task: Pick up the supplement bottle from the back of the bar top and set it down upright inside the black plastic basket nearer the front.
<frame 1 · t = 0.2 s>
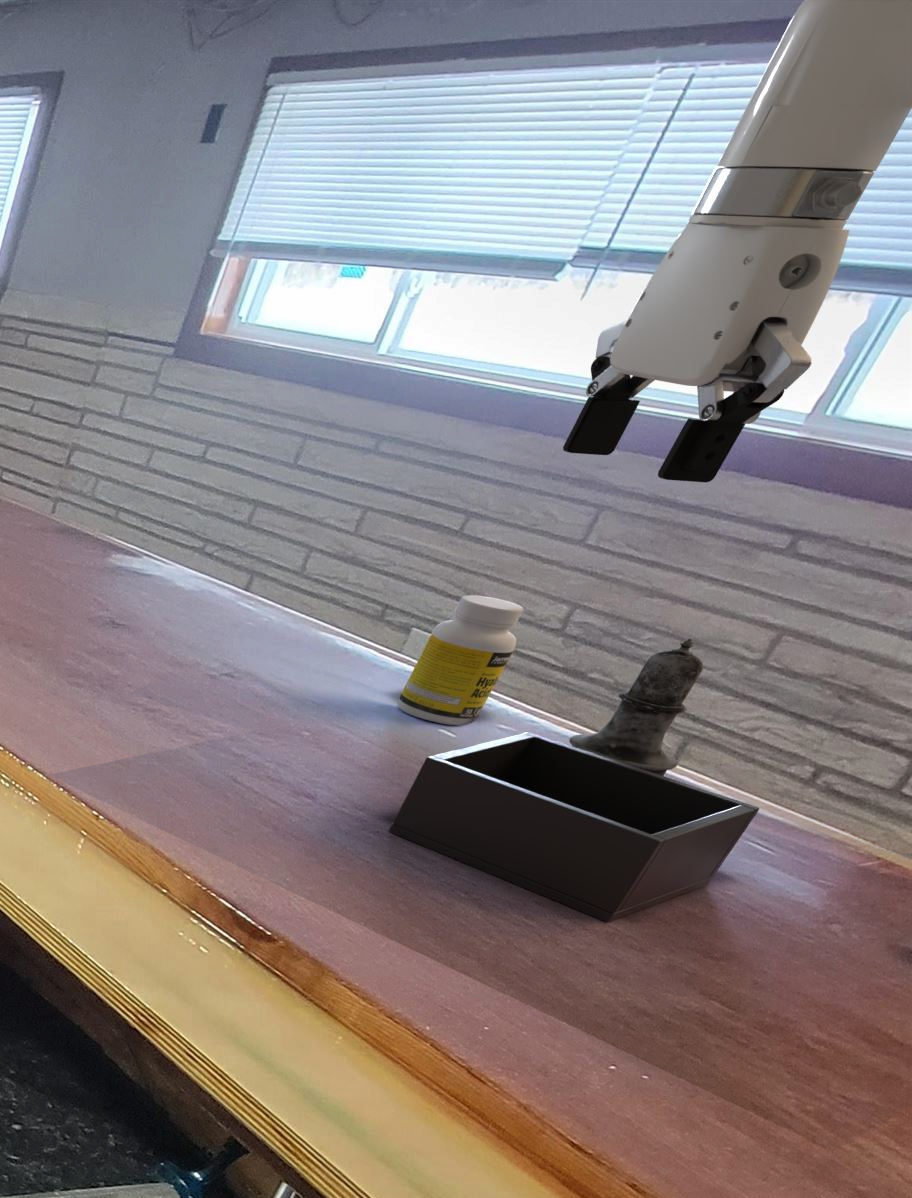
hand: (632, 466, 89), 21 cm above the counter, tool pointing down, fingers open, 9 cm apart
supplement bottle: (433, 716, 103), on the counter
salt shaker: (594, 797, 89), on the counter
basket: (542, 857, 80), on the counter
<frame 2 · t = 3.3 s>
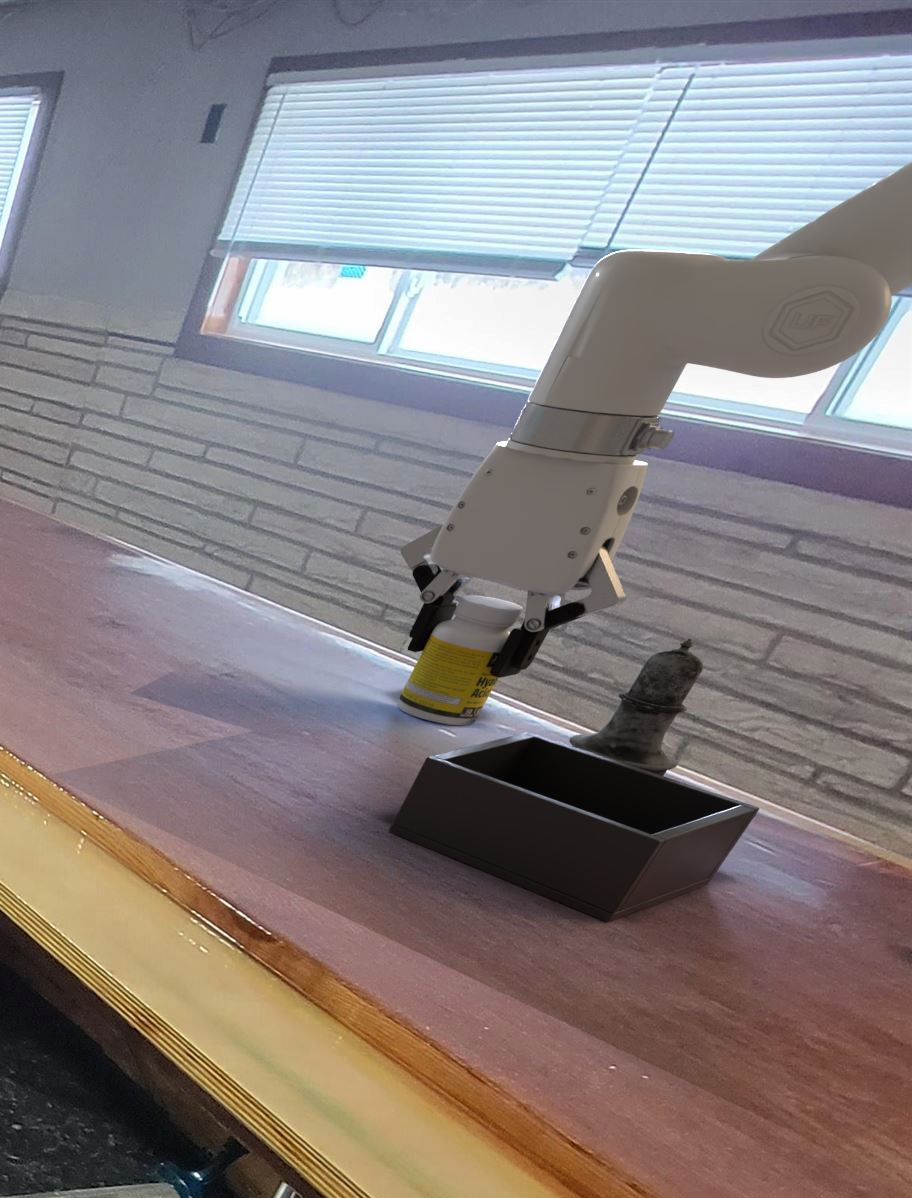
hand: (462, 659, 100), 5 cm above the counter, tool pointing down, fingers closed on supplement bottle, 5 cm apart
supplement bottle: (433, 716, 103), on the counter, touching gripper
everything else where it was.
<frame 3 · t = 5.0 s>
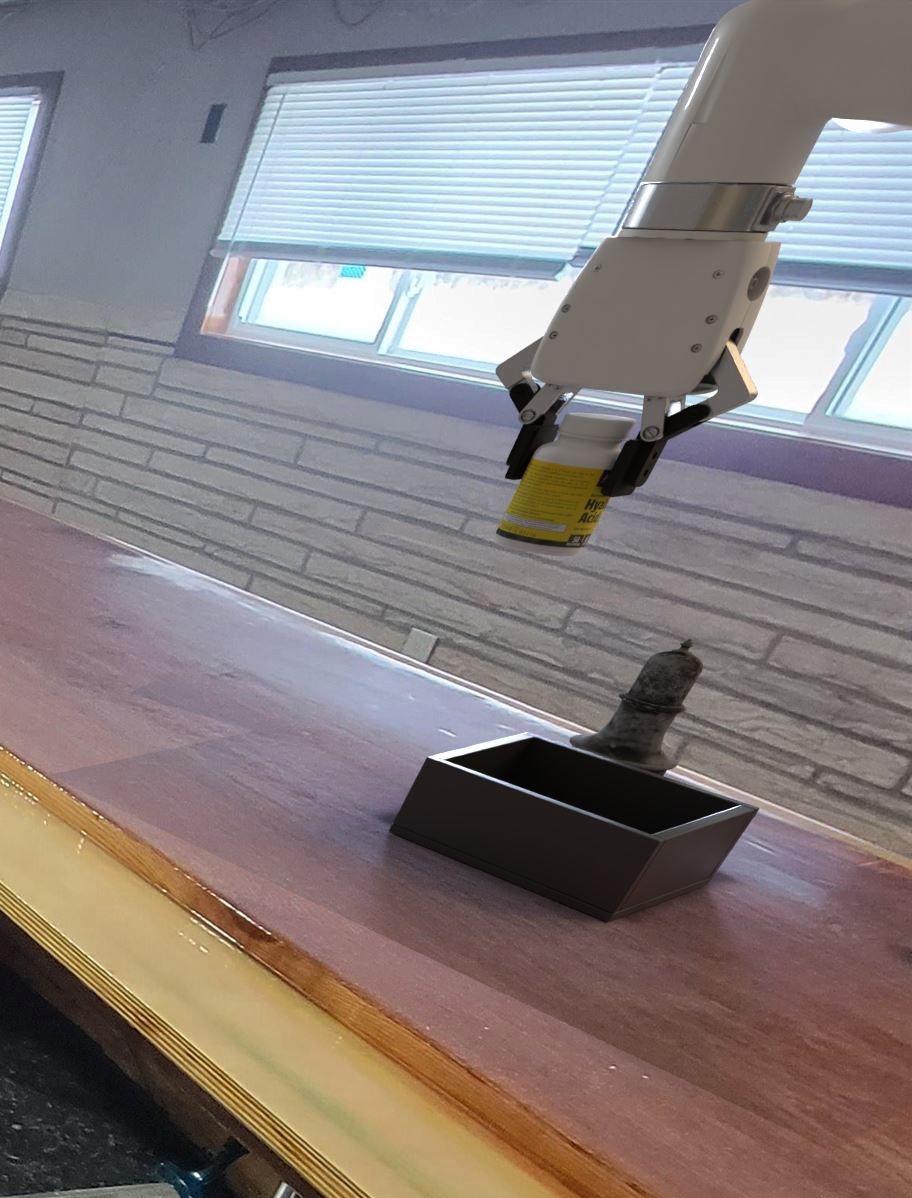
hand: (567, 484, 92), 19 cm above the counter, tool pointing down, fingers closed on supplement bottle, 5 cm apart
supplement bottle: (534, 551, 94), point 14 cm above the counter, touching gripper
everything else where it was.
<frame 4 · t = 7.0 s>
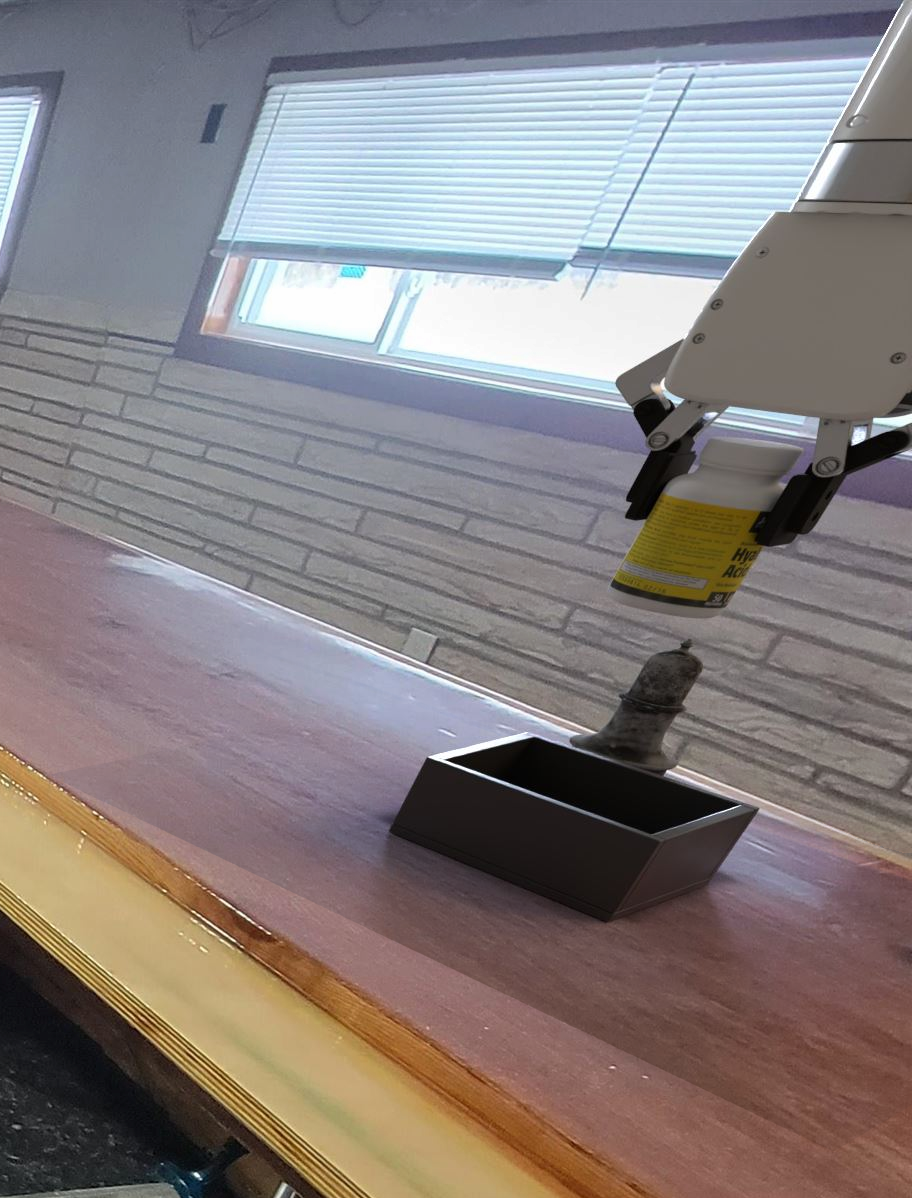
hand: (707, 527, 73), 21 cm above the counter, tool pointing down, fingers closed on supplement bottle, 5 cm apart
supplement bottle: (658, 610, 75), point 16 cm above the counter, touching gripper
everything else where it was.
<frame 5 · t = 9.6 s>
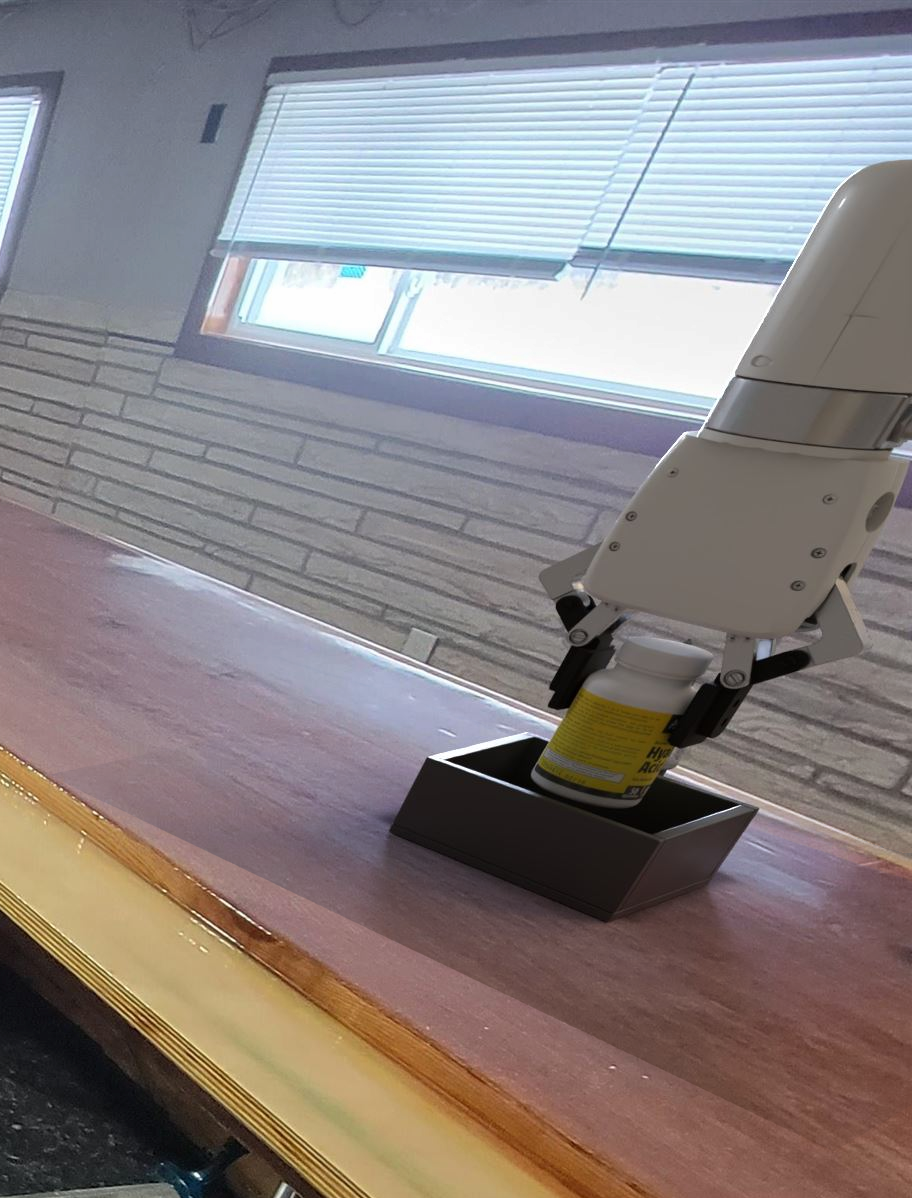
hand: (624, 721, 75), 10 cm above the counter, tool pointing down, fingers closed on supplement bottle, 5 cm apart
supplement bottle: (580, 794, 78), point 5 cm above the counter, touching gripper
everything else where it was.
when the fingers open (6 cm above the counter, at t = 11.1 s): supplement bottle stays where it is, resting on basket.
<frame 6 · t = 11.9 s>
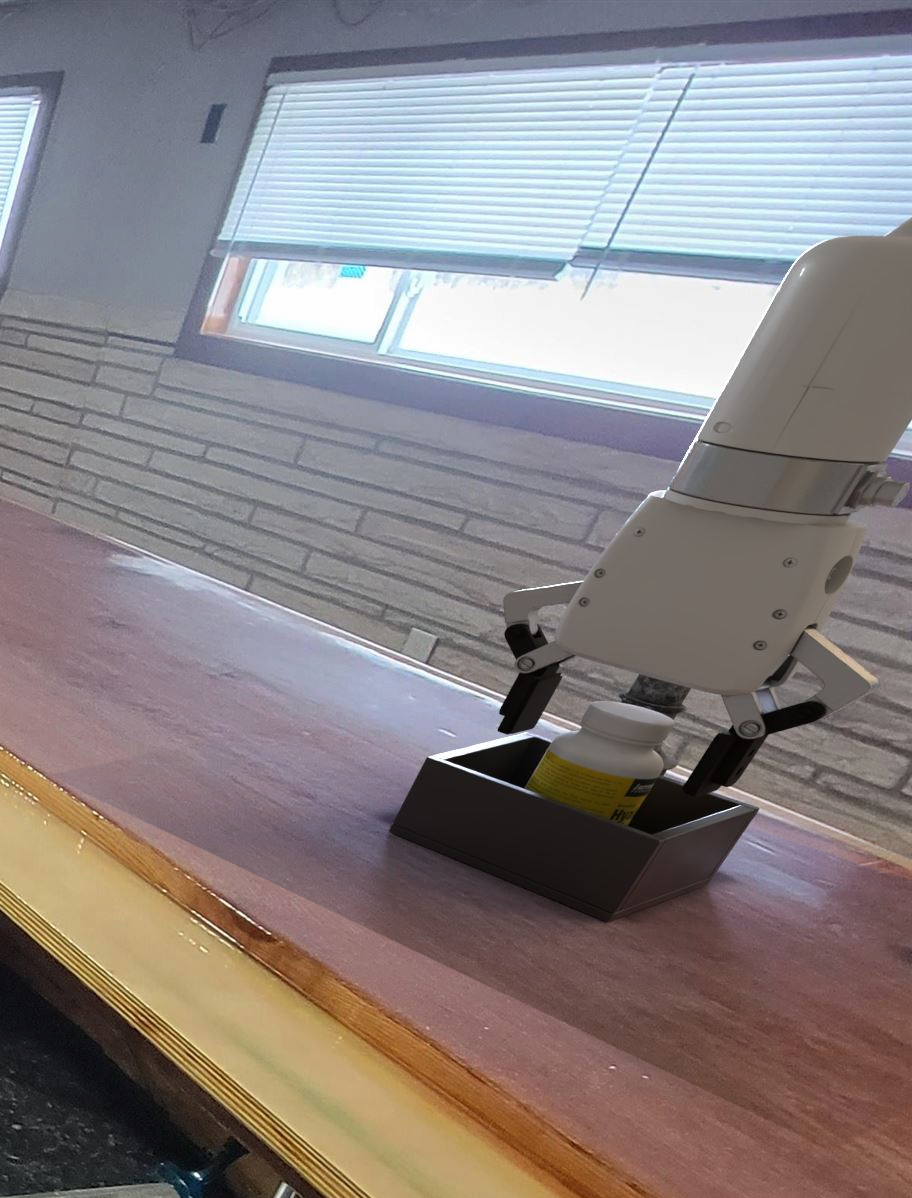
hand: (602, 759, 77), 7 cm above the counter, tool pointing down, fingers open, 9 cm apart
supplement bottle: (547, 852, 80), resting on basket
everything else where it was.
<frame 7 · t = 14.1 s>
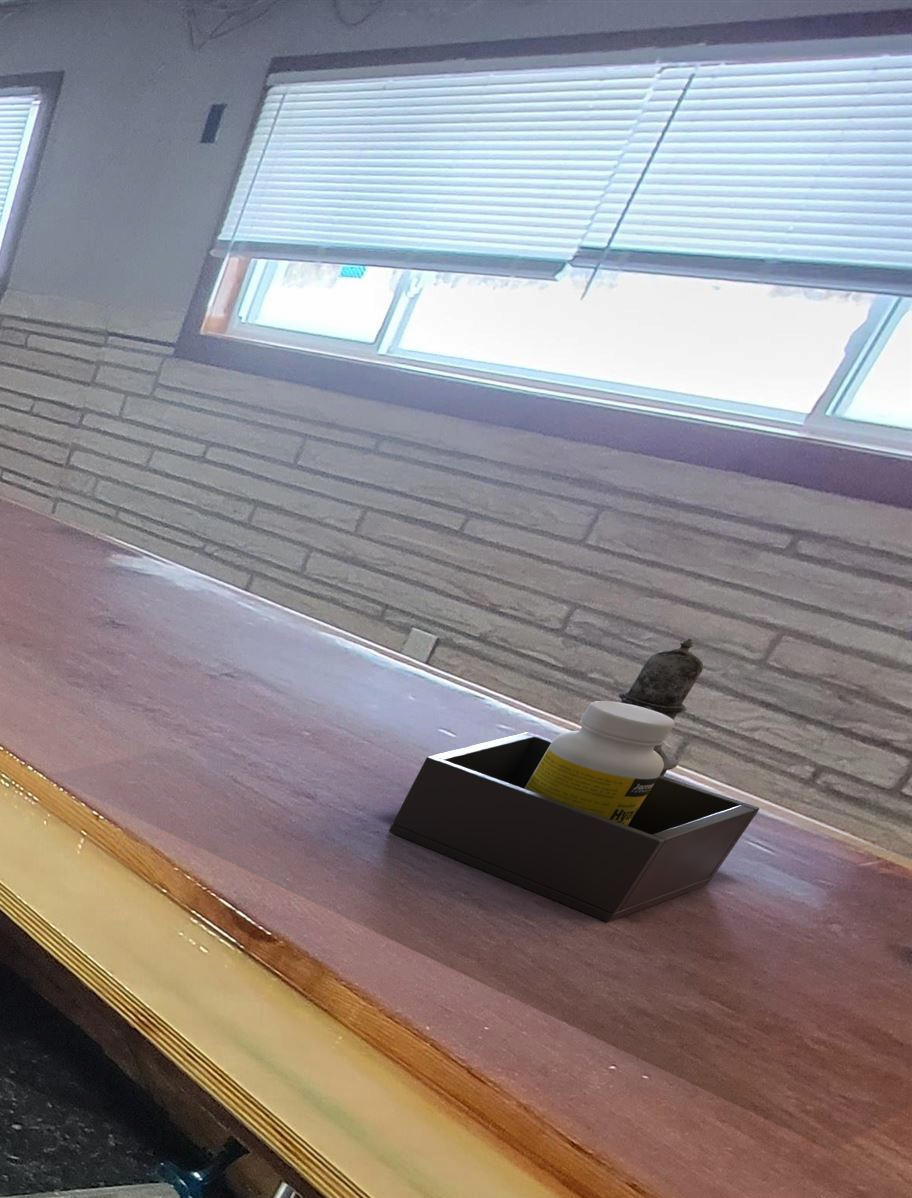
nothing on the counter moved.
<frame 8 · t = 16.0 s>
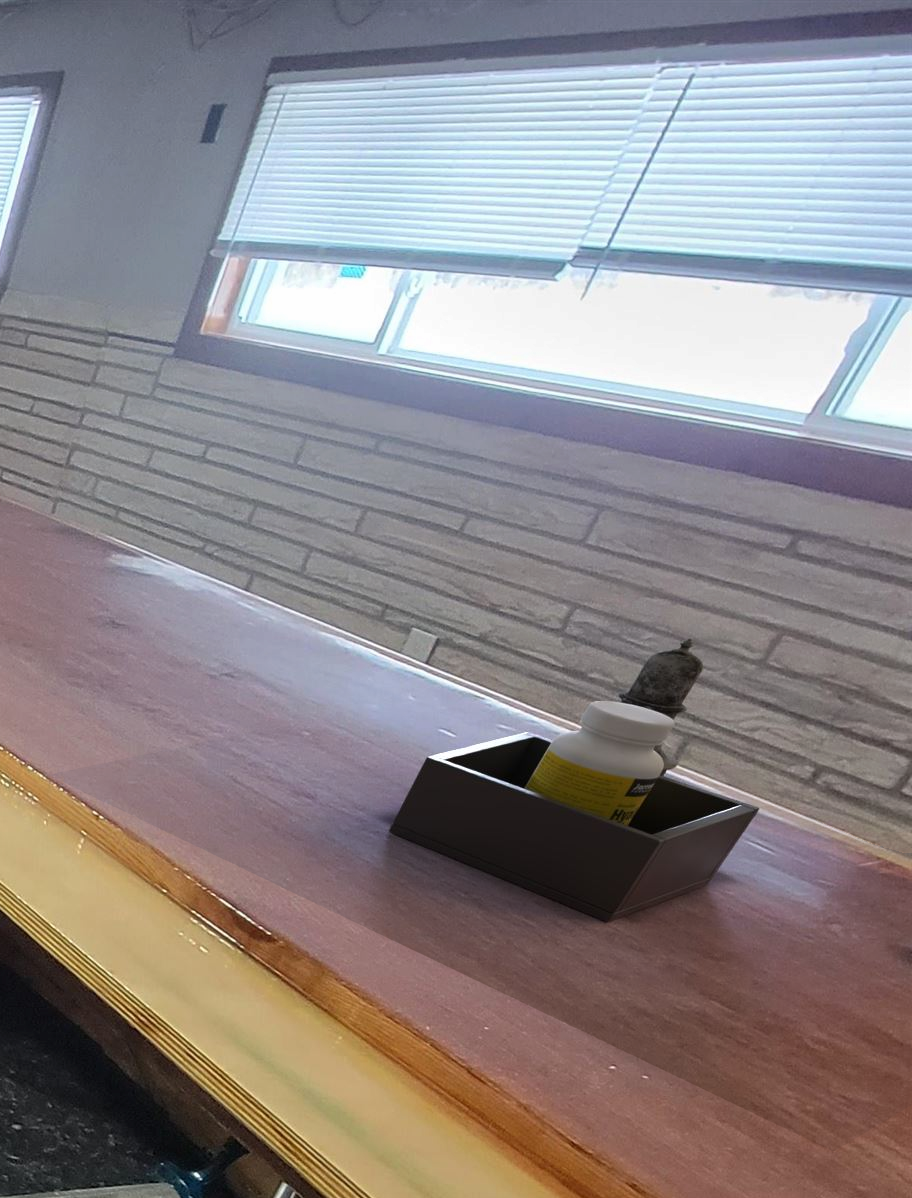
nothing on the counter moved.
at the end: supplement bottle inside the target area in the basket (0.1 cm from its centre), point 0.4 cm above the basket's base; supplement bottle tilted 0°; the gripper is holding nothing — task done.
